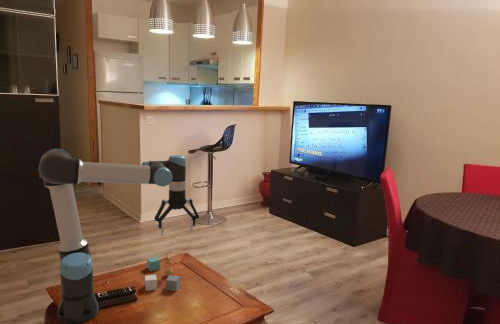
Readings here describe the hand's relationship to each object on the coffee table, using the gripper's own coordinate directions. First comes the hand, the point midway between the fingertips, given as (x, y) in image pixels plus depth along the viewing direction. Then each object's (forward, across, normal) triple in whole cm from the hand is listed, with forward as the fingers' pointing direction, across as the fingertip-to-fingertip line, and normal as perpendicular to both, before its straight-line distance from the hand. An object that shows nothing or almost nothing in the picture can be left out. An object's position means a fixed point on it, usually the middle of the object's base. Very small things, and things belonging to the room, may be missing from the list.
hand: (176, 233), depth 184 cm
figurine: (+24, -3, +5) cm, 25 cm away
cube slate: (+24, -3, -6) cm, 25 cm away
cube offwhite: (+24, -12, -3) cm, 27 cm away
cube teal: (+24, -9, +17) cm, 31 cm away
